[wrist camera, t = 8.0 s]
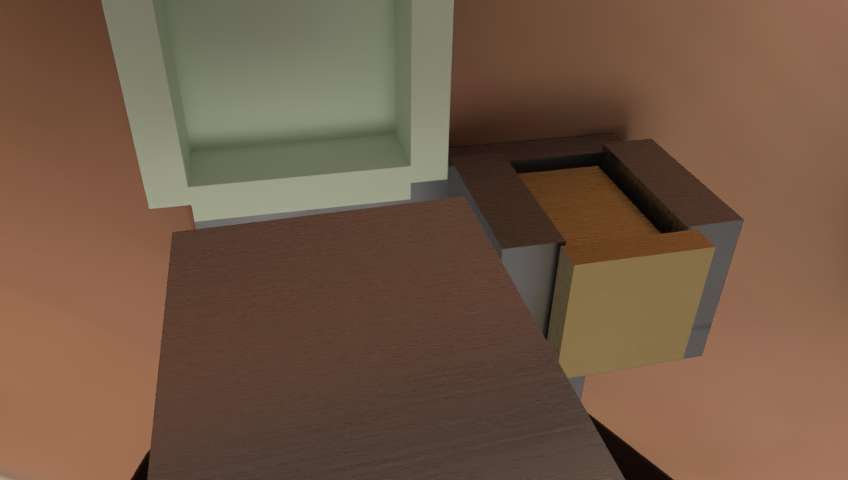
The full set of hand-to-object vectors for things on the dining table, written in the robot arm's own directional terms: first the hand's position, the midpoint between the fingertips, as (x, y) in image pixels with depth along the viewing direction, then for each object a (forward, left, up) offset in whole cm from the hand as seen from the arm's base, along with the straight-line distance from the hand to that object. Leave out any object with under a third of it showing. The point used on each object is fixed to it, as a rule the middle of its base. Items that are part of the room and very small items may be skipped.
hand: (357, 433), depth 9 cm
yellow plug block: (-8, +4, -11) cm, 14 cm away
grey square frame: (0, -1, -13) cm, 13 cm away
